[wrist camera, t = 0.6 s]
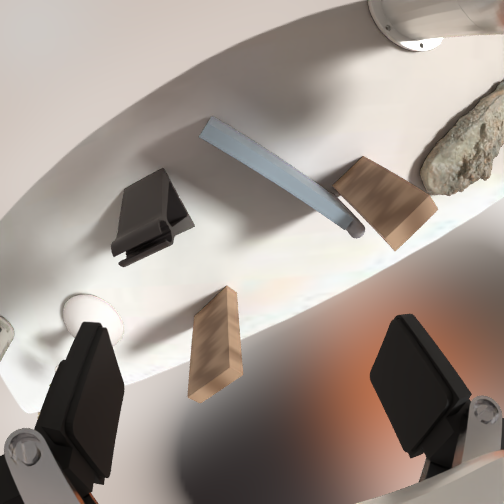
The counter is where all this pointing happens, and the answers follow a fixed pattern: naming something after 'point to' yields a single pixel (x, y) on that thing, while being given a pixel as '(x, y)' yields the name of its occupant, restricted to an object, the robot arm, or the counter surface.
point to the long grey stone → (467, 148)
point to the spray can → (5, 336)
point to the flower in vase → (92, 316)
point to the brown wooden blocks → (225, 303)
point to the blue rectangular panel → (281, 174)
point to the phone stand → (149, 218)
